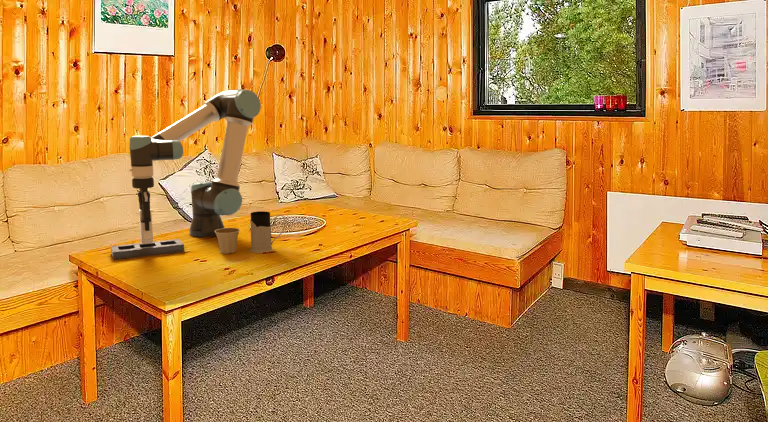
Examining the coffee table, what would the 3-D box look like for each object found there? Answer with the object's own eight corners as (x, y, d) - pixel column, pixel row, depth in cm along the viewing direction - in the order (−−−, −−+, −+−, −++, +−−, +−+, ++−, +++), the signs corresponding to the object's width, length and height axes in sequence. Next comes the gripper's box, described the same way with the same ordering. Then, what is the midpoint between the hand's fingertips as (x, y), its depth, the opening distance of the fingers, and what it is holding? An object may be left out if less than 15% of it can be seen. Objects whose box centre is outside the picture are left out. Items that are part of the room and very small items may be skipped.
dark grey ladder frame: (179, 246, 223) (179, 238, 222) (184, 251, 214) (183, 244, 214) (111, 253, 210) (110, 246, 210) (113, 260, 202) (112, 252, 201)
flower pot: (214, 255, 209) (213, 233, 208) (216, 249, 219) (215, 228, 217) (239, 254, 211) (238, 232, 210) (241, 248, 220) (240, 227, 219)
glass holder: (249, 248, 220) (247, 211, 218) (284, 245, 225) (283, 209, 223) (251, 253, 212) (250, 215, 210) (288, 250, 217) (287, 213, 215)
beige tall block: (151, 241, 214) (149, 208, 212) (153, 243, 211) (151, 210, 208) (140, 242, 212) (138, 209, 210) (142, 244, 209) (139, 210, 206)
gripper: (129, 175, 212) (133, 233, 217) (134, 180, 198) (138, 243, 202) (150, 174, 216) (154, 232, 220) (156, 179, 201) (160, 241, 206)
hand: (146, 237), depth 211 cm, fingers closed on beige tall block, 4 cm apart
